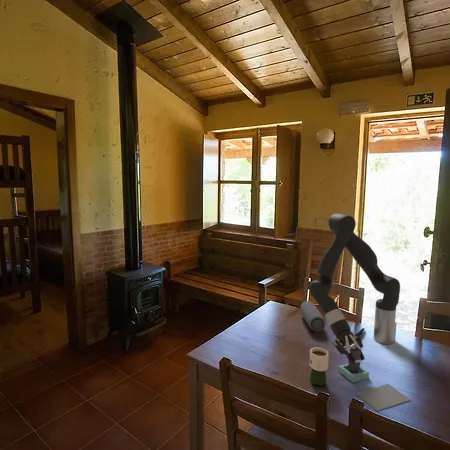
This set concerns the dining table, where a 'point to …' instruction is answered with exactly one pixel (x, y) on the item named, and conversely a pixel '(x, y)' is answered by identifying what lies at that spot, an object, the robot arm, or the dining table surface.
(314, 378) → the character mug
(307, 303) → the bluetooth speaker
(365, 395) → the grey mat
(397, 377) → the dining table surface
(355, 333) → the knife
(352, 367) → the dark grey cylinder
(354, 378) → the green square frame
